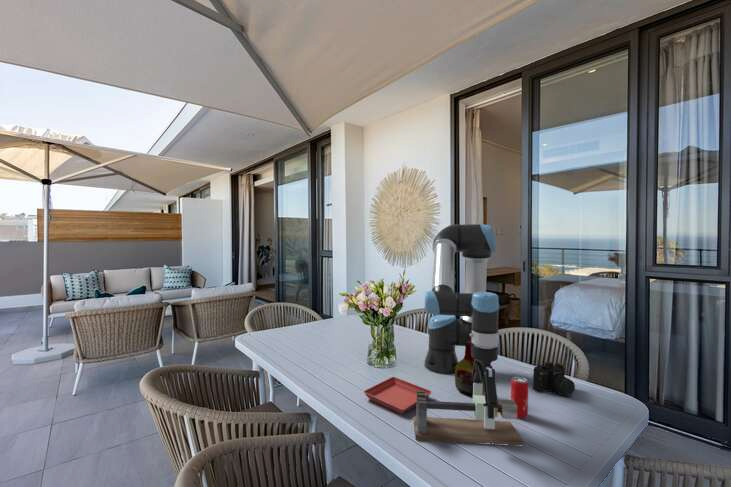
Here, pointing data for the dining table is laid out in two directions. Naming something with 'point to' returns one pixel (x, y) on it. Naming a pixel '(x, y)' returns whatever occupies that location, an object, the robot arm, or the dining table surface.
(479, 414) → the sleeve
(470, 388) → the bottle
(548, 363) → the camera
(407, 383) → the plant saucer
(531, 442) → the dining table surface
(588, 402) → the dining table surface
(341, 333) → the dining table surface
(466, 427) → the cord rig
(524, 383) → the beverage can
